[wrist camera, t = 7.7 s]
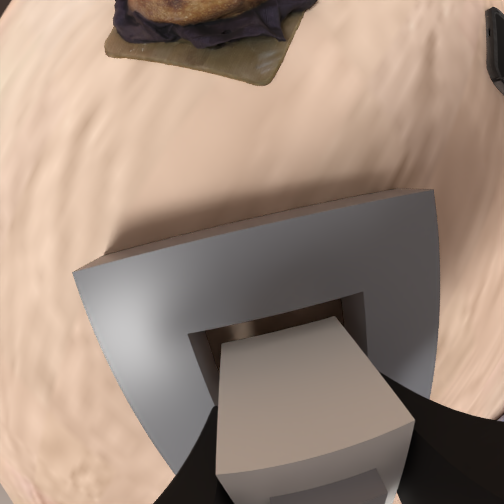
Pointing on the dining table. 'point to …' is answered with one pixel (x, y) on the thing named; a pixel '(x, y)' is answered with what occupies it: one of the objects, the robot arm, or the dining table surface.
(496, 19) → the phone
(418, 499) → the robot arm
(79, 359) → the dining table surface
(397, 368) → the socket block
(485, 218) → the dining table surface
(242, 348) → the plug
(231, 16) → the bread roll
